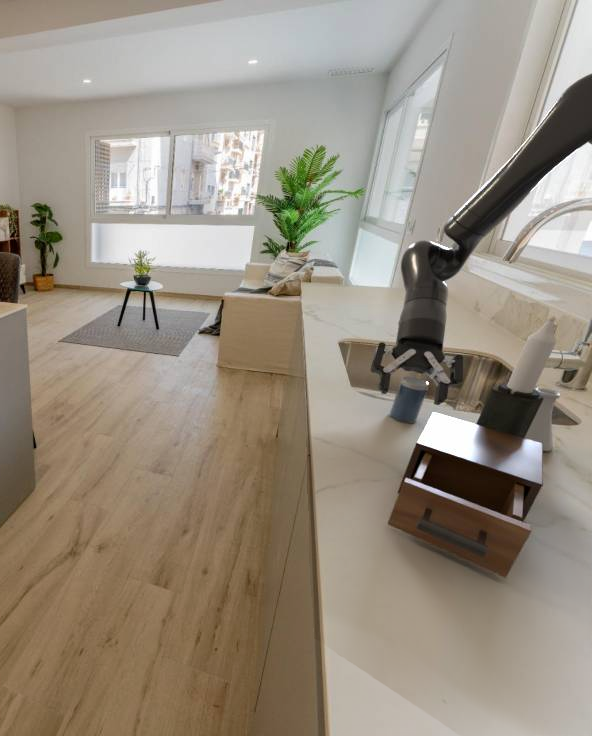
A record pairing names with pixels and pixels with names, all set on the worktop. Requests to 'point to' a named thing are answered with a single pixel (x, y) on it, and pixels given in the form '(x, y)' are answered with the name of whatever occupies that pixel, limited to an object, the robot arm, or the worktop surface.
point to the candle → (520, 387)
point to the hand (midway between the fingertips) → (410, 397)
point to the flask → (543, 420)
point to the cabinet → (482, 453)
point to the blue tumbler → (409, 399)
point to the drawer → (463, 512)
